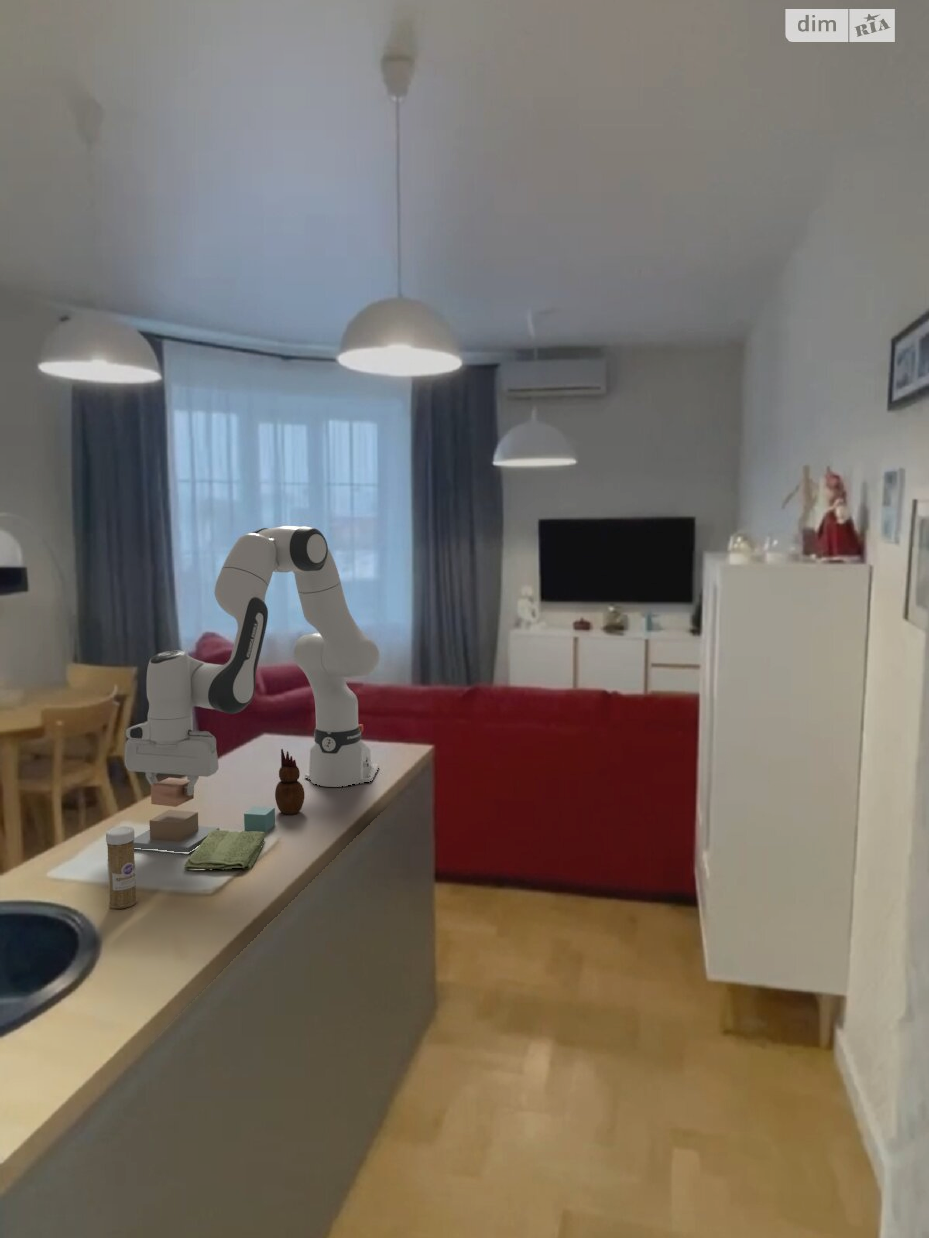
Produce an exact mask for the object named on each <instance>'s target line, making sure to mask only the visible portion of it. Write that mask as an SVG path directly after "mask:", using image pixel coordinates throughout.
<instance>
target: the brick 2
mask: <svg viewBox="0 0 929 1238" xmlns="http://www.w3.org/2000/svg"><path fill="white" fill-rule="evenodd" d="M243 821H244V828H243V829H244V831H246V832H247V831H249V832H251V831H258V832H264V833H267V832H268V831H270V830H271V829H272V828H273V827H275V825H276V808H275V807H269V806H267V807H266V806H252V807H251V808H250V809H248V810H247V811H246V812H245V813H243Z"/></svg>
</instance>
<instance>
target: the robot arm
mask: <svg viewBox="0 0 929 1238" xmlns="http://www.w3.org/2000/svg"><path fill="white" fill-rule="evenodd" d="M273 572H274V573H290V572H292V573H293V574H294V580H295V585H296V590H297V594H298V597H299V602H300V605H301V609H302V613H303V617H304V619H305V621H306V622H307V623H308V624H309V625H310V626H312V627H313V628H314V629H315V630H316V631H317V632H314V633H309V634H305V635H302V636H300V637H299V638H298V640H297V641H296V642H295V645H294V650H293V658H294V663H296V665H297V666H298V668H300V669H301V671H302V672H303V673H304V675H305V677H306V678H307V681H308V683H309V685H310V688H311V691H312V695H313V697H314V699H313V700H314V708H315V710H314V711H315V728H314V733H313V737H314V745H313V746H312V747H310V750H309V768H308V772H306V773H305V774H304V778H305V777H307V778H308V779H307V780H309V779H310V780H311V781H310V780H309V781H310V782H311V783H312V784H314V785H315V784H317V785H316V786H319V785H320V786H321V787H327V788H328V787H330V788H341V787H342V786H343V787H349V786H348V785H351V786H353V785H352V784H355V785H359V783H360V784H365V783H364V782H369V783H371V782H370V781H372V780H374V779H373V777H374V775H375V773H376V771H377V770H378V771H379V769H378V767H379V768H380V764H379V763H376V762H372V757H371V756H372V755H371V748H370V747H369V746H367V744H366V743H365V742H364V741H363V740H362V739H363V738H362V732H364V724H363V723H360V724H359V700H358V698H357V697H358V696H357V695H356V694H355V693H354V692H353V691H352V690H351V688H349V686H348V684H347V682H346V681H345V678H348V679H349V678H350V679H354V678H364V677H368V676H371V675H372V674H373V673H374V672H375V671H376V669H377V668H378V665H379V662H380V651H379V648H378V645H377V644H376V643H375V642H374V641H373V640H372V639H370V638H369V637H368V636H367V635H365V633H364V632H363V631H362V630H361V628H360V627H359V626H358V625H357V623H356V622H355V620H354V618H353V616H352V615H351V612H350V610H349V608H348V604H347V601H346V598H345V593H344V590H343V586H342V583H341V579H340V574H339V570H338V567H337V565H336V562H335V559H334V557H333V555H332V553H331V550H330V549H329V547H328V542H327V540H326V538H325V536H324V534H323V533H322V532H321V531H320V530H319V529H317V528H315V527H312V526H306V525H302V526H296V525H295V526H294V525H282V526H278V527H277V526H276V527H269V528H267V527H263V528H259V529H257V530H255V531H253V532H249V533H245V534H243V535H240V537H238V539H237V541H235V544H233V547H231V549H230V551H229V553H228V555H227V557H226V559H225V560H224V563H223V565H222V568H221V569H220V572H219V574H218V576H217V580H216V581H215V587H214V598H215V600H216V602H217V605H219V607H220V608H221V609H222V610H223V611H224V612H225V613H227V614H228V615H230V616H231V617H233V618H234V619H235V621H236V623H237V631H236V633H235V634H236V636H235V639H234V643H233V647H232V649H231V650H232V651H231V655H230V659H229V660H228V661H227V662H226V663H224V664H216V663H211V662H205V661H203V660H198V659H196V658H194V657H192V656H190V655H189V654H188V653H187V652H186V651H184V650H180V649H175V650H174V649H172V650H167V651H162V652H159V653H157V654H155V655H153V656H152V657H151V658H150V659H149V662H148V666H147V671H146V699H147V701H148V712H147V720H146V721H143V722H141V723H138V724H136V725H132V726H130V727H128V728H127V729H126V731H125V736H126V738H127V741H125V745H124V766H125V767H126V769H127V770H128V771H129V772H139V773H145V778H146V780H147V781H148V783H149V785H150V786H151V785H153V784H155V783H158V782H159V780H158V778H157V775H158V774H164V775H178V776H179V775H180V776H186V779H187V780H190V781H189V783H188V785H187V786H186V787H183V791H184V792H183V795H186V796H191V795H193V794H194V795H195V785H196V783H197V782H198V780H199V777H206V778H208V777H211V776H212V775H214V774H216V773H217V771H218V770H219V767H220V766H219V757H218V752H217V751H218V750H217V738H216V737H215V736H214V734H212V733H211V732H210V731H207V730H203V731H202V730H201V731H200V730H196V729H195V730H194V729H193V723H194V722H193V708H194V707H200V708H203V709H209V710H215V711H218V712H222V713H225V714H231V715H234V714H237V713H241V712H242V711H243V710H245V708H247V706H248V705H250V703H251V702H252V700H253V698H254V696H255V691H256V681H257V679H256V678H257V677H256V675H257V669H258V666H259V665H258V664H259V661H260V657H261V651H262V648H263V643H264V641H265V639H264V638H265V636H266V631H267V624H268V619H269V618H268V617H269V610H268V607H267V606H268V605H267V604H266V594H267V591H268V588H269V585H270V583H271V579H272V577H273ZM378 771H377V772H378ZM376 774H377V773H376ZM375 776H376V775H375ZM374 778H375V777H374ZM372 782H373V781H372ZM320 786H319V787H320Z"/></svg>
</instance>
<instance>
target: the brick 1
mask: <svg viewBox="0 0 929 1238" xmlns="http://www.w3.org/2000/svg"><path fill="white" fill-rule="evenodd" d="M189 781H190V780H187V778H176V777H168V778H165V779H162V780H160V781H158V783H155V784H153V785H150V797H151V799H150V801H151V805H155V806H156V805H157V806H165V807H173V808H176V807H179V806H181V805H183V804H185V803H187V802H189V801H191V800H193V799H194V797H195V793H194V794H193V795H191V796H186V795H183V792H184V791H183V787H186V786H187V785H188V783H189Z"/></svg>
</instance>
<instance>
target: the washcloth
mask: <svg viewBox="0 0 929 1238" xmlns="http://www.w3.org/2000/svg"><path fill="white" fill-rule="evenodd" d="M264 838H266V832H258V831H245V830H242V831H230V830H227V829H226V830H225V829H224V830H220V829H219V830H211V831H210V833H208V835H207V837H206V839H204V840H203V842H202V843H201V844H200V846H199V847H198V848H197V849H196V850H195V851H194V852H192V853H191V854H190V856H189V858H187V861H186V862H185V864H184V866H183V867H184V870H189V869H222V870H224V869H225V870H233V869H232V868H243V869H242V870H251V869H252V868H253V865H254V864H255V863H256V859H257V858H258V857H259V855H260V852H261V851H260V850H262V848H261V846H262V845H263V846H264V843H265V839H264ZM263 842H264V843H263ZM263 846H262V847H263ZM259 851H260V852H259ZM257 856H258V857H257Z"/></svg>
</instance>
